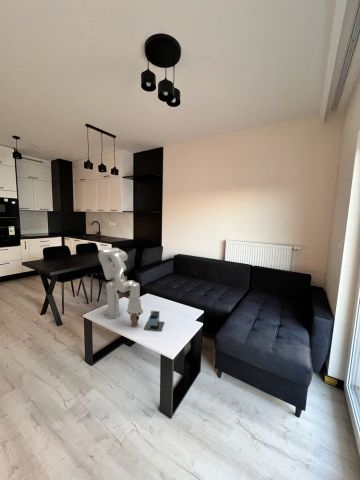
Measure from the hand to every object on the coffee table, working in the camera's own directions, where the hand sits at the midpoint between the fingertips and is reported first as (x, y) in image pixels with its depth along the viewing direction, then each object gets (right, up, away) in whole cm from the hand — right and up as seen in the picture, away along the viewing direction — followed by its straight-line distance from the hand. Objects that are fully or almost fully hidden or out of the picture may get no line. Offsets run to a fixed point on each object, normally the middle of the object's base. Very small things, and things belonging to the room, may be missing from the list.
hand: (134, 319), depth 157 cm
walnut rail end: (0, -5, +1) cm, 5 cm away
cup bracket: (+16, -5, 0) cm, 17 cm away
